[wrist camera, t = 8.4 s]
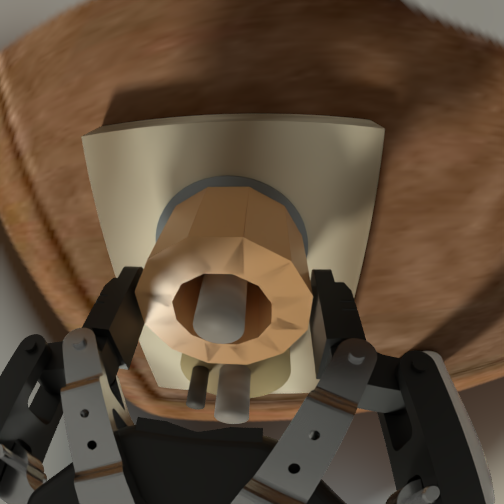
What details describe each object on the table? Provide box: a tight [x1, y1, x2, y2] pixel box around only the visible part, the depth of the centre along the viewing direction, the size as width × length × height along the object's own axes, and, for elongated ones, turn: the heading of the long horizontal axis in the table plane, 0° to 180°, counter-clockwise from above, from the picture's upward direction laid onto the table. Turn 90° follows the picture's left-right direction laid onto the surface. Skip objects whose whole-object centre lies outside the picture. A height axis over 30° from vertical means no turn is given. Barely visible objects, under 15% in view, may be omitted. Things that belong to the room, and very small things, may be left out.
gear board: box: [82, 114, 385, 424], centre depth 16 cm, size 13×19×7 cm
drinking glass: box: [422, 351, 495, 504], centre depth 17 cm, size 7×7×15 cm
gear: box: [135, 187, 313, 365], centre depth 13 cm, size 6×6×4 cm
